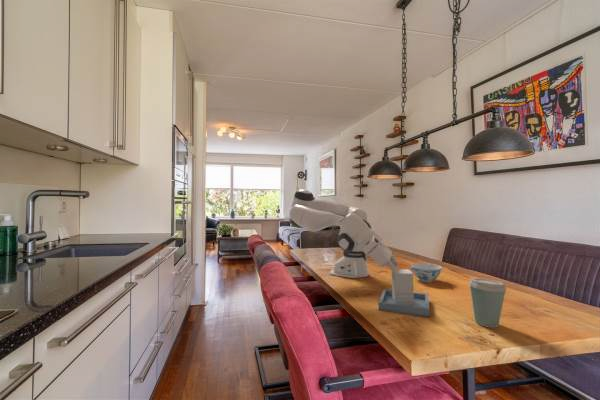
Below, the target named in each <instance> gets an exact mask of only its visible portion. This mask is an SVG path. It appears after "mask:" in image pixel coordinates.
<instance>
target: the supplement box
mask: <svg viewBox="0 0 600 400" xmlns="http://www.w3.org/2000/svg"><path fill="white" fill-rule="evenodd" d="M391 290H392V299H393V301H394V303H395V304H403V305H414V294H413V292H414V273H413V271H412V270H410V269H405V268H404V269H398V268H397V271H396V272H393V271H392V270H391Z"/></svg>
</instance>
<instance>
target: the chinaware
mask: <svg viewBox="0 0 600 400" xmlns="http://www.w3.org/2000/svg"><path fill="white" fill-rule="evenodd" d="M442 268H443V267H442V266H441V265H438V264H434V263H426V262H425V263H424V262H420V263H419V262H416V263H412V264H411V265H410V269H411V272H412V273H413V276H415V277H417V278H418V279H419V281H420V282H421V283H422V282H423V283H433V282H434V280H436V279H438V277H439V276H440V275H441V273H442V270H443V269H442Z"/></svg>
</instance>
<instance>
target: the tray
mask: <svg viewBox="0 0 600 400" xmlns="http://www.w3.org/2000/svg"><path fill="white" fill-rule="evenodd" d="M413 294H414V305H403V304H395V303H394V301H393V299H392V289H386V288H384V289H383V290H382V293H381V295H380V298H379V300H378V311H382V312H389V313H394V314H396V313H397V314H404V315H409V316H416V317H417V316H418V317H419V316H420V317H426V318H430V315H431V313H430V310H431V309H430V301H429V294H428V293H423V292H415V291H413Z"/></svg>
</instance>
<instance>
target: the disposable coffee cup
mask: <svg viewBox="0 0 600 400" xmlns="http://www.w3.org/2000/svg"><path fill="white" fill-rule="evenodd" d="M468 285H469V288H470V295H471V302H472V303H471V304H472V309H473V316H474V320H475V323H476V324H478V325H479V326H482V327H485V328H492V329H493V328H497V327H498V326H499V324H500V319H501V315H502V309H503V304H504V299H505V294H506V291H507V287H506V286H505V283H503V282H501V281H498V280H494V279H490V278H489V279H487V278H482V277H481V278H480V277H479V278H477V277H475V278H471V279H470V280H469V283H468Z"/></svg>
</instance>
